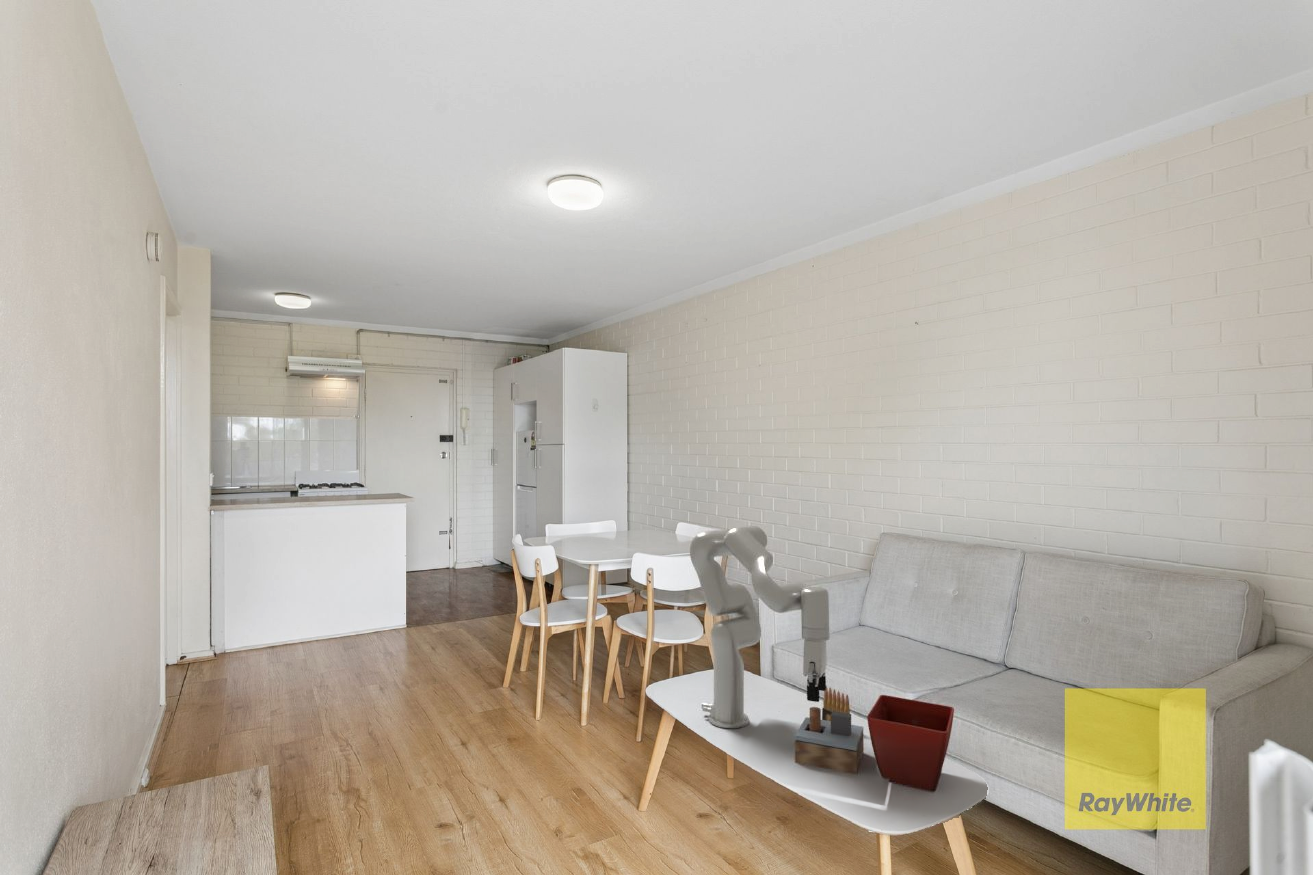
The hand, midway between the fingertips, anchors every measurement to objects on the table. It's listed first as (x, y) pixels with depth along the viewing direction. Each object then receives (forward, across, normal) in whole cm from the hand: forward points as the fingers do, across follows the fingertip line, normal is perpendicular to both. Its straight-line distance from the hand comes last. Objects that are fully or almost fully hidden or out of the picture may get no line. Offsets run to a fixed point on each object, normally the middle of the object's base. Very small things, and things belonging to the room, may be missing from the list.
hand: (816, 695), depth 184 cm
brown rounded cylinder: (+16, 0, -1) cm, 16 cm away
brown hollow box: (+17, 0, +3) cm, 18 cm away
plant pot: (+18, 0, +24) cm, 30 cm away
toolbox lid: (+10, 0, +3) cm, 11 cm away
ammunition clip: (+17, -23, +1) cm, 29 cm away
